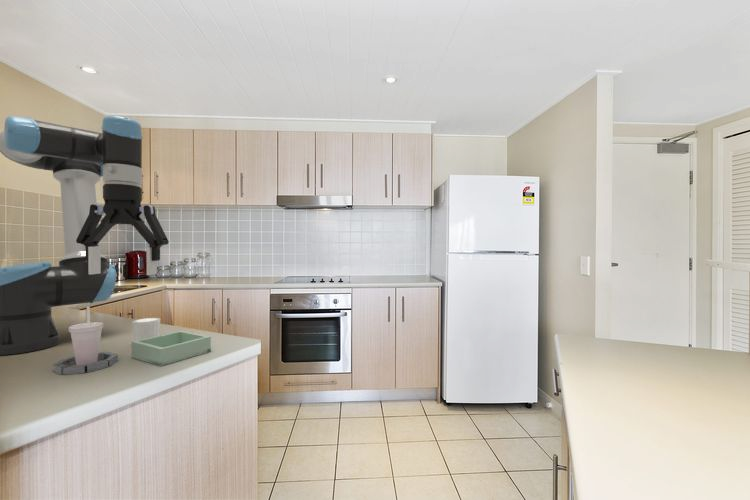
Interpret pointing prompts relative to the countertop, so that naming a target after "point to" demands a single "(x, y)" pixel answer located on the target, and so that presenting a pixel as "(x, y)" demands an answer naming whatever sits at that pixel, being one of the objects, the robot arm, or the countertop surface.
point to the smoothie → (86, 340)
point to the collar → (65, 369)
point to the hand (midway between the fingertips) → (123, 274)
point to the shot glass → (146, 328)
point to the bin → (170, 347)
